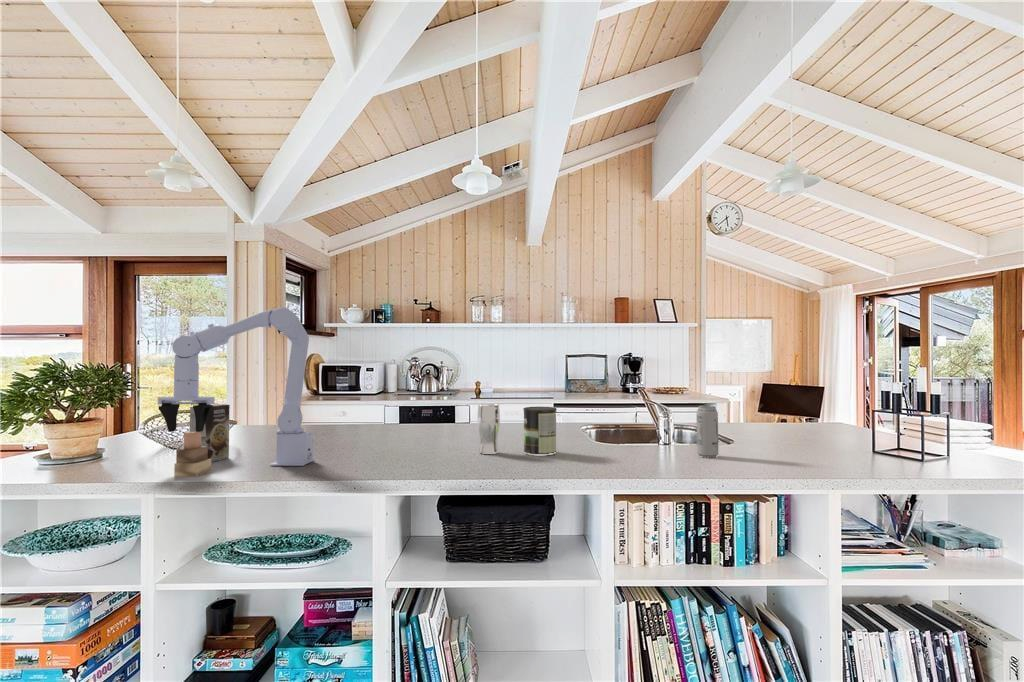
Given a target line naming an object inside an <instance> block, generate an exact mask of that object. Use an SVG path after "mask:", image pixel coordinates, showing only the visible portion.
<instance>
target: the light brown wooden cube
mask: <svg viewBox="0 0 1024 682" xmlns="http://www.w3.org/2000/svg"><path fill="white" fill-rule="evenodd" d="M183 448H184V449H197V448H201V432H190V431H186V432H184V433H183Z"/></svg>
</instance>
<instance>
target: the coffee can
mask: <svg viewBox="0 0 1024 682" xmlns="http://www.w3.org/2000/svg"><path fill="white" fill-rule="evenodd" d="M522 409H523V453H524V452H526V453H530V454H549V453H554V452H556V453H557V408H556V407H554V406H527V407H524V408H522Z"/></svg>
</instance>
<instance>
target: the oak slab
mask: <svg viewBox="0 0 1024 682" xmlns="http://www.w3.org/2000/svg"><path fill="white" fill-rule="evenodd" d="M173 466H174V473H173V474H174V477H199V476H203V475H205V474H208V473H210V471H211V472H212V462H211V459H208V460H205V461H201V462H197V463H176V462H174V465H173ZM207 472H208V473H207Z"/></svg>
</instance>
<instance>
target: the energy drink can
mask: <svg viewBox="0 0 1024 682" xmlns="http://www.w3.org/2000/svg"><path fill="white" fill-rule="evenodd" d="M696 454H697V455H698V457H699V456H702V457H716V456H718V455H719V412H718V411H717V408H716V405H698V408H697V410H696ZM702 457H701V458H702ZM716 458H717V457H716Z"/></svg>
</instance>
